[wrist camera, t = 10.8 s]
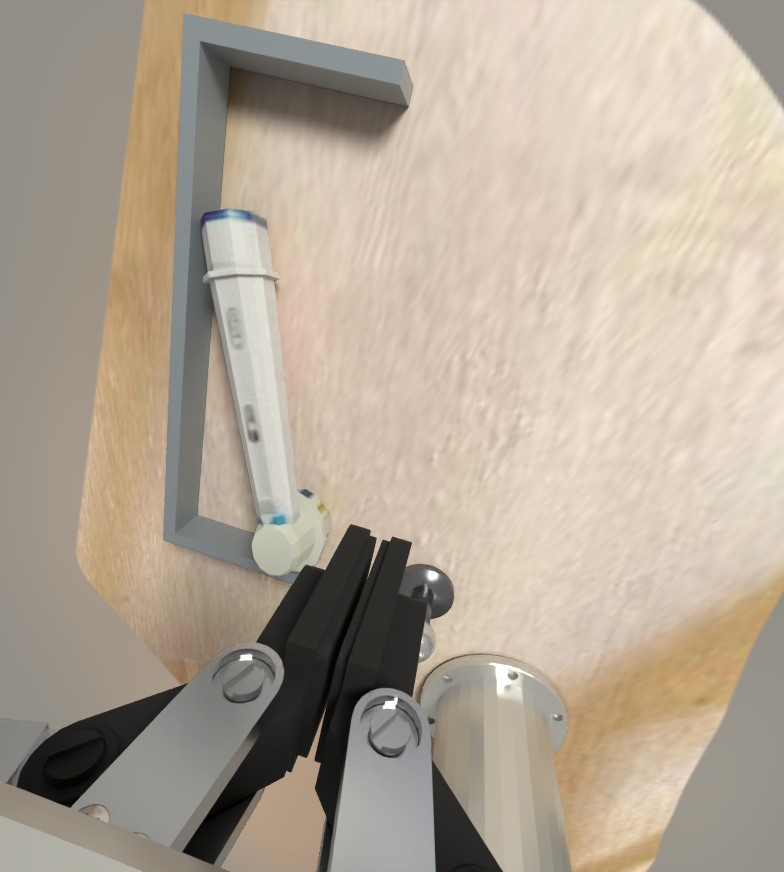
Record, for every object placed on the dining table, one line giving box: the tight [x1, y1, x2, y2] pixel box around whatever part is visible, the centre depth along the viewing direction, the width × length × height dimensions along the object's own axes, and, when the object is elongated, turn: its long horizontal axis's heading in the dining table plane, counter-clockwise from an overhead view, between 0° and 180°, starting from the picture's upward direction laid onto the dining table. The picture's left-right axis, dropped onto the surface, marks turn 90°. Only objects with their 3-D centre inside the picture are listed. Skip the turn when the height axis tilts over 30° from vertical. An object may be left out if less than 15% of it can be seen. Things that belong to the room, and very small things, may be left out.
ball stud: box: [399, 564, 454, 663], centre depth 32 cm, size 5×5×7 cm
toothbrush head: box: [200, 209, 331, 575], centre depth 30 cm, size 5×7×25 cm
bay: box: [163, 13, 413, 584], centre depth 30 cm, size 34×12×3 cm, turn 166°
